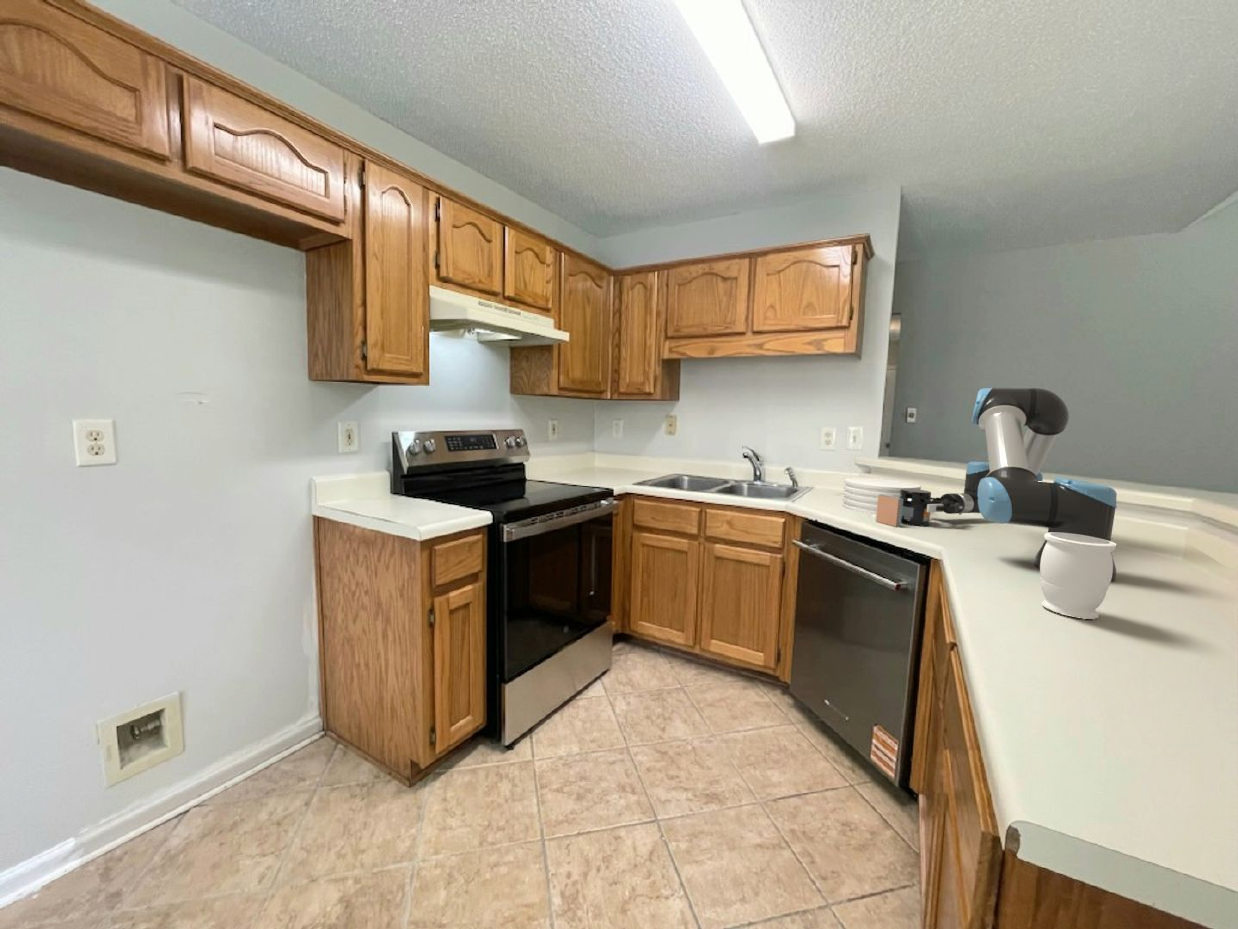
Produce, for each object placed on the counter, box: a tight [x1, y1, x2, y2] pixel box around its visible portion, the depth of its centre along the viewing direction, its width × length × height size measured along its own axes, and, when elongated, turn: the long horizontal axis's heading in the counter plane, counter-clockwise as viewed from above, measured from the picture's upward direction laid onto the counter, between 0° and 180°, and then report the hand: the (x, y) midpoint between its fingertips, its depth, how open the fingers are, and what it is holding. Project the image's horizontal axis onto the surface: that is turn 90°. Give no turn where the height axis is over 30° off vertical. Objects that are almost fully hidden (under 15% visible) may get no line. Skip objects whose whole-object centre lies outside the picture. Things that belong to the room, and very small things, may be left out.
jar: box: [1039, 532, 1117, 620], centre depth 96 cm, size 11×10×15 cm
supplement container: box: [899, 489, 932, 527], centre depth 177 cm, size 10×10×12 cm
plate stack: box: [841, 477, 922, 516], centre depth 203 cm, size 28×28×12 cm
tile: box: [875, 494, 903, 528], centre depth 173 cm, size 2×9×10 cm, turn 17°
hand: (911, 504), depth 176 cm, fingers open, 13 cm apart
